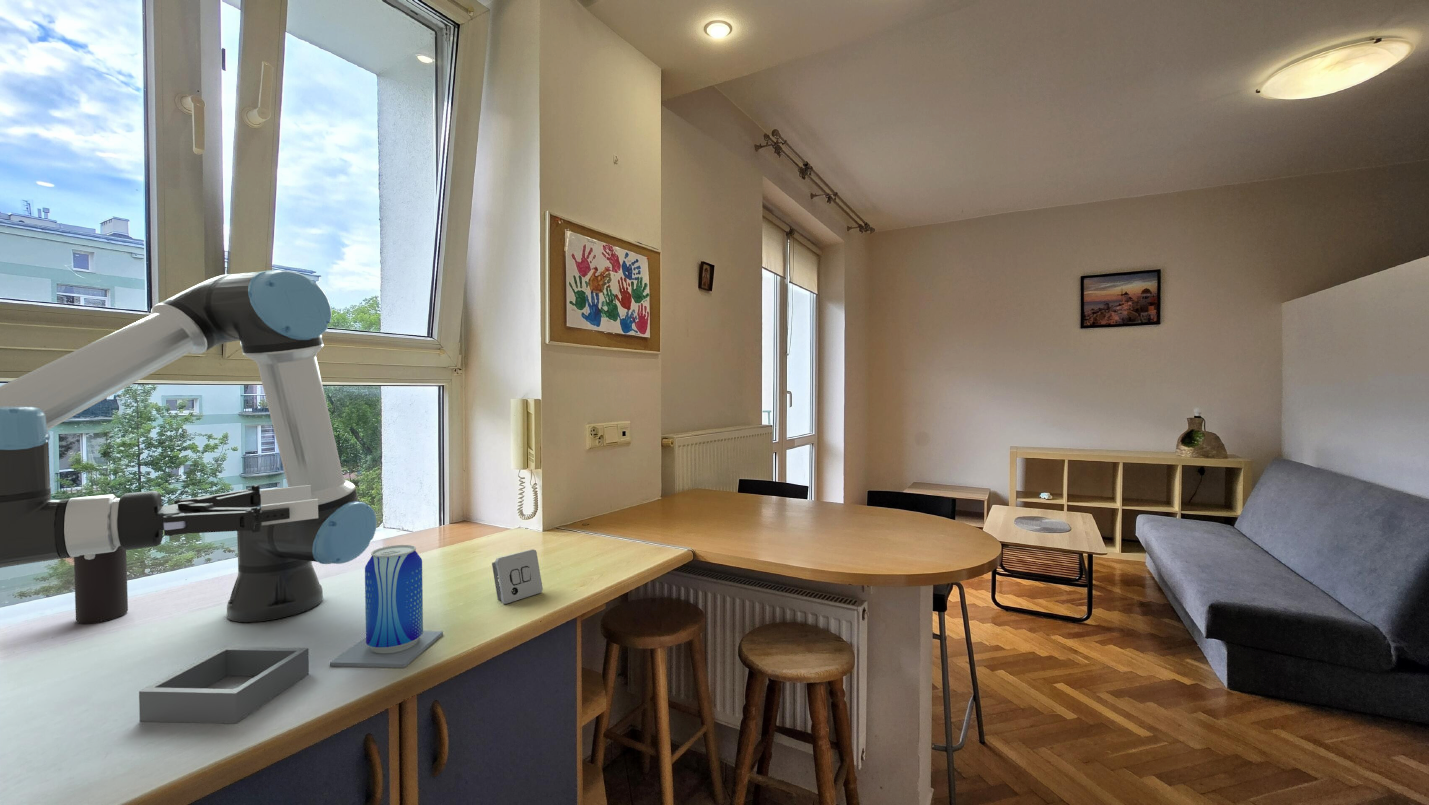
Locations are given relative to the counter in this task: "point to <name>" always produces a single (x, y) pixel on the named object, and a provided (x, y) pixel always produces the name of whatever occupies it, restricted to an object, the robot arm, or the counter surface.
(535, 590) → the electrical switch
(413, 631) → the beer can
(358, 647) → the coaster mat
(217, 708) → the grey storage bin
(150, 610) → the counter surface
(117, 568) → the bottle
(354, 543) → the robot arm
